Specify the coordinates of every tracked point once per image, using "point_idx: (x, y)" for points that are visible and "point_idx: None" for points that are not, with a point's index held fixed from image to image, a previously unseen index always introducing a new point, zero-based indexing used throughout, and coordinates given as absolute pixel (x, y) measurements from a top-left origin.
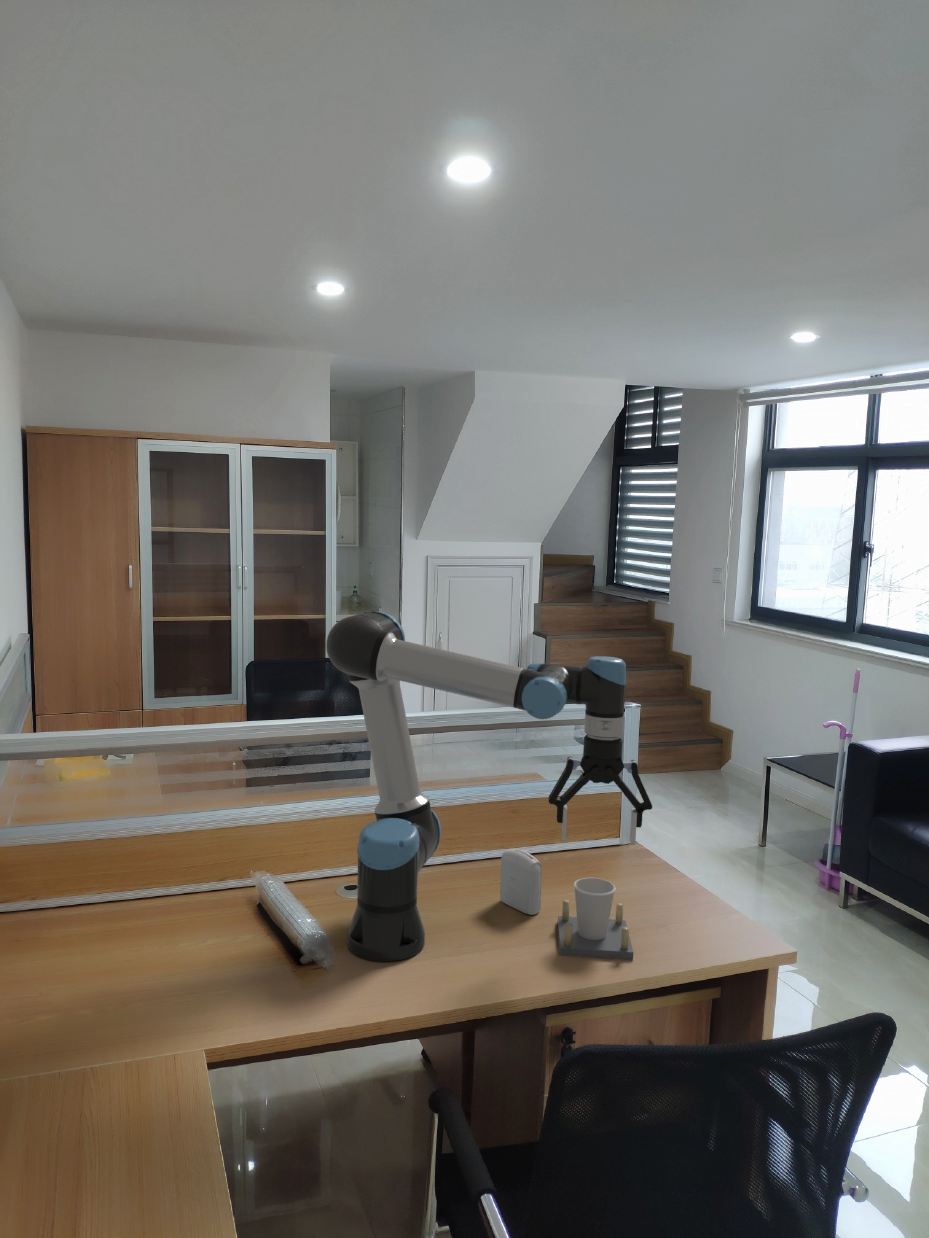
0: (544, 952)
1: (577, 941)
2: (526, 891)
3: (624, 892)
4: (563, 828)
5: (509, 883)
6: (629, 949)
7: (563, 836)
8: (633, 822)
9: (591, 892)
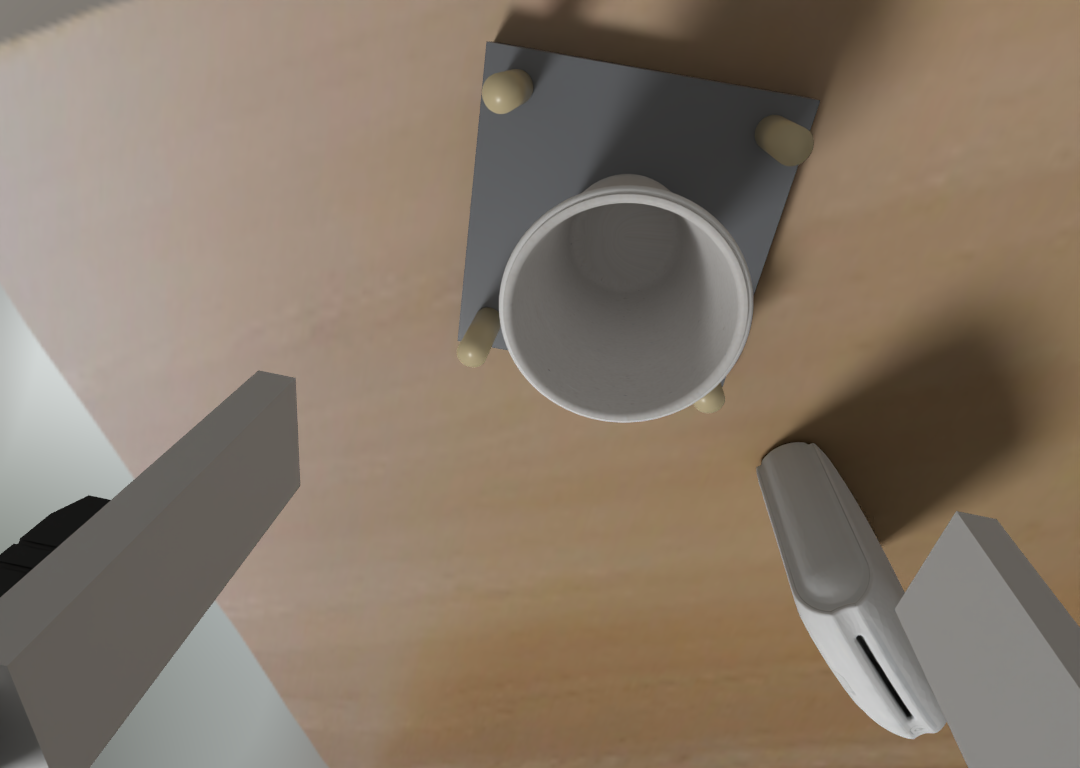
0: (873, 125)
1: (714, 162)
2: (850, 505)
3: (414, 559)
4: (1065, 623)
5: (894, 573)
6: (498, 71)
7: (1003, 549)
8: (123, 533)
9: (611, 367)
